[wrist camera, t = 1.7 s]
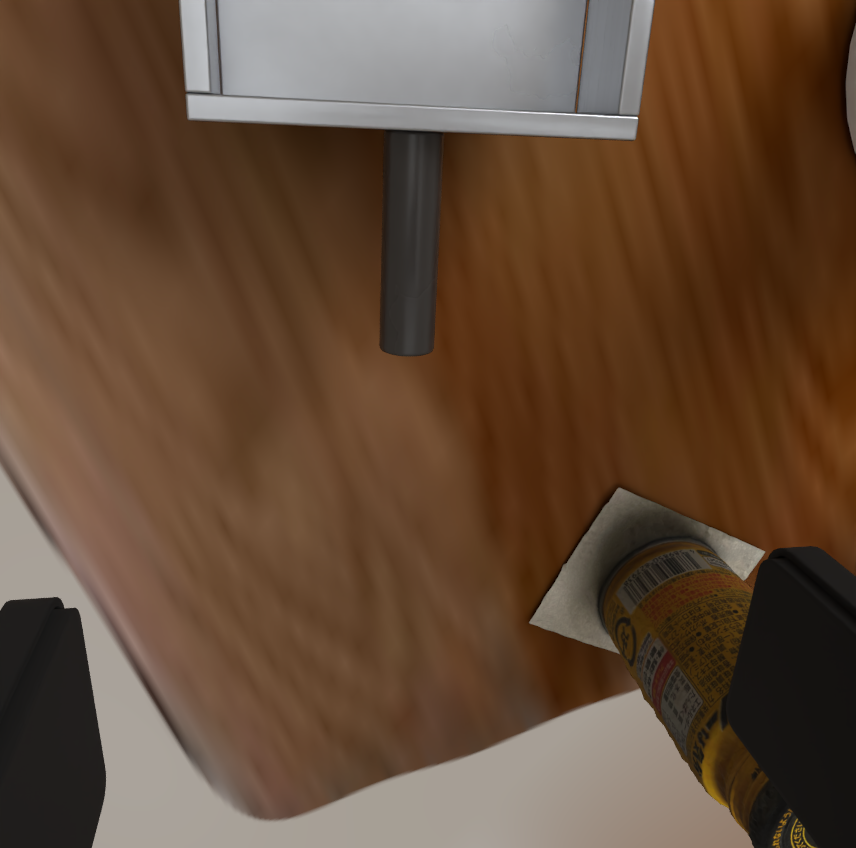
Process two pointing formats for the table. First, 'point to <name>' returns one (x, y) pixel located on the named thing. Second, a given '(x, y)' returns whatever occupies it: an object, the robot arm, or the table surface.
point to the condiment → (675, 641)
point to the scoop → (418, 95)
